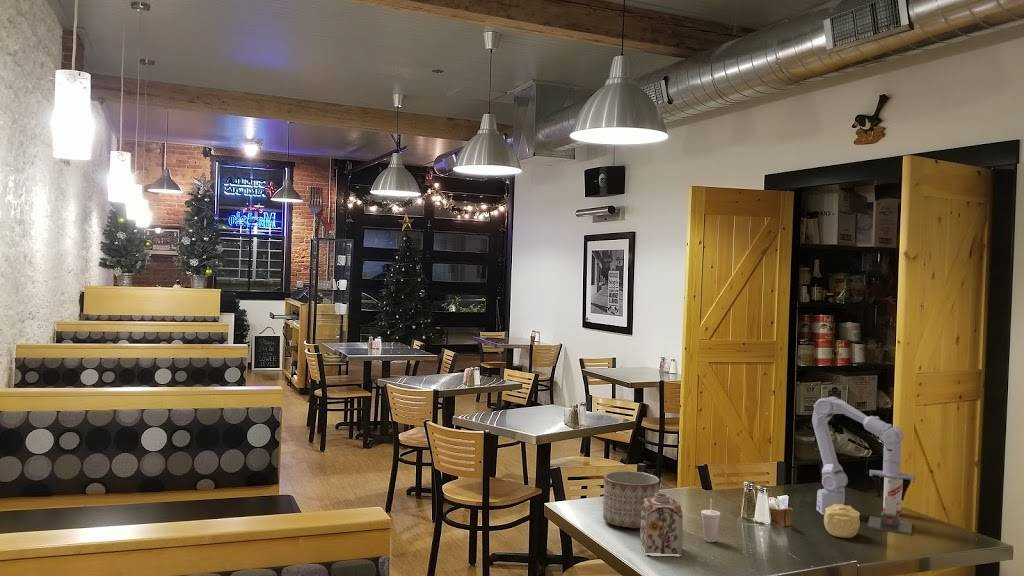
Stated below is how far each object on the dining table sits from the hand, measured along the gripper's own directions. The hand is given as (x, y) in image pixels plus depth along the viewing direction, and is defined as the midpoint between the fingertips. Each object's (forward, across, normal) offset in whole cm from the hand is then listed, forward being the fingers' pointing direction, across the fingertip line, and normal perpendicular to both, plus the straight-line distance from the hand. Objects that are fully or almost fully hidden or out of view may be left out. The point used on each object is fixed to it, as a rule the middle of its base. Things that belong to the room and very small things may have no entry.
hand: (890, 498), depth 279 cm
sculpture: (+11, -14, -21) cm, 28 cm away
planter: (+11, -81, -51) cm, 96 cm away
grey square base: (+10, 0, 0) cm, 10 cm away
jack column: (+7, 0, 0) cm, 7 cm away
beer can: (+10, 0, +19) cm, 22 cm away
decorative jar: (+11, -63, -72) cm, 97 cm away
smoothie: (+10, -52, -54) cm, 76 cm away
